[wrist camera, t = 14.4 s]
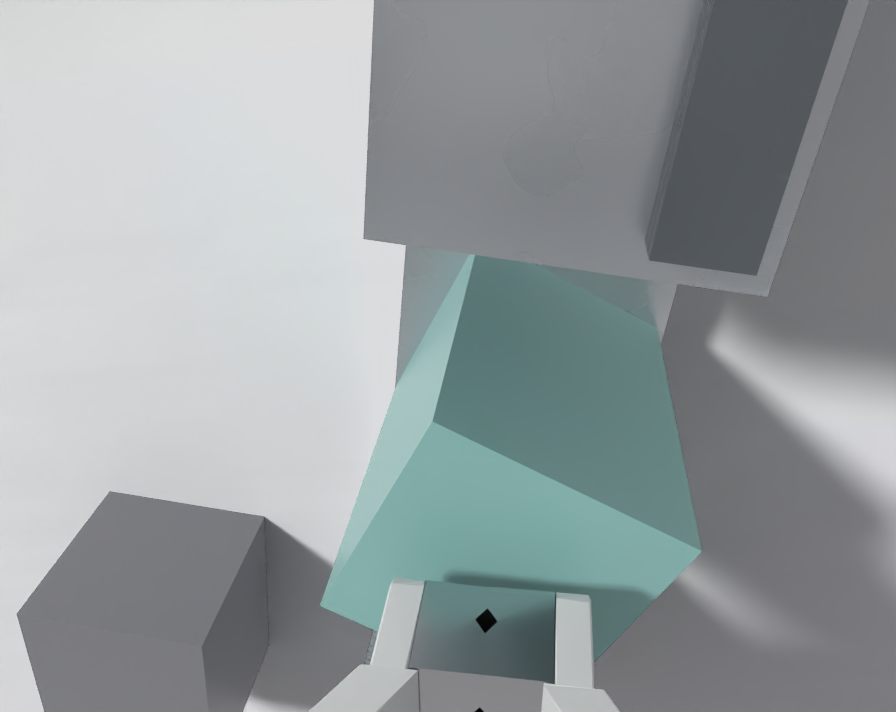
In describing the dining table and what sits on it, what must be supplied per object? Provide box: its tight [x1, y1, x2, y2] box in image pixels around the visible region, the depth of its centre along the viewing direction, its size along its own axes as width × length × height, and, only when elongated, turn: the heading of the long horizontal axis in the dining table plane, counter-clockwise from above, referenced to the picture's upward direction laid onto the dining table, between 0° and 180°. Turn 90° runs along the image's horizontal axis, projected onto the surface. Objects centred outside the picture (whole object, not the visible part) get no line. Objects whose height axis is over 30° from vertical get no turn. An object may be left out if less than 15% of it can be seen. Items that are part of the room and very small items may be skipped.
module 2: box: [320, 254, 702, 662], centre depth 16 cm, size 4×4×7 cm
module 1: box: [17, 491, 269, 712], centre depth 24 cm, size 6×5×5 cm
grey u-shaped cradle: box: [364, 0, 870, 665], centre depth 16 cm, size 26×6×9 cm, turn 174°
